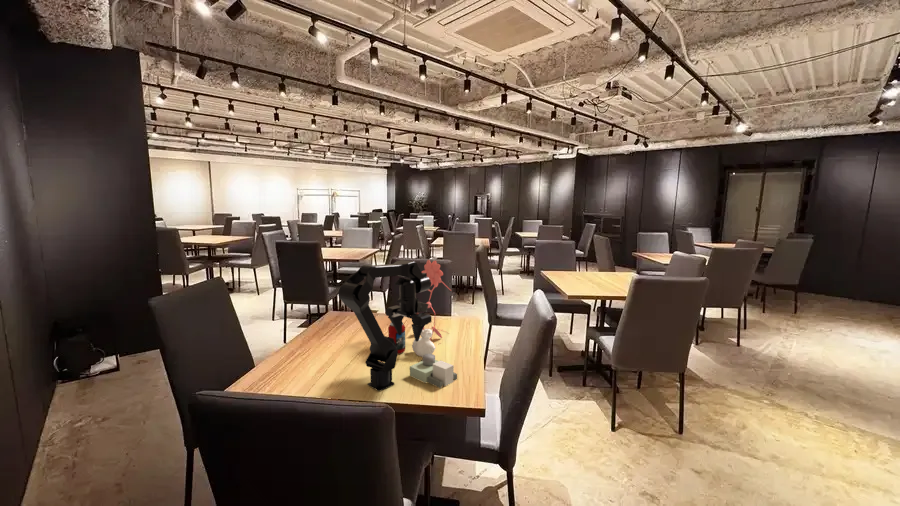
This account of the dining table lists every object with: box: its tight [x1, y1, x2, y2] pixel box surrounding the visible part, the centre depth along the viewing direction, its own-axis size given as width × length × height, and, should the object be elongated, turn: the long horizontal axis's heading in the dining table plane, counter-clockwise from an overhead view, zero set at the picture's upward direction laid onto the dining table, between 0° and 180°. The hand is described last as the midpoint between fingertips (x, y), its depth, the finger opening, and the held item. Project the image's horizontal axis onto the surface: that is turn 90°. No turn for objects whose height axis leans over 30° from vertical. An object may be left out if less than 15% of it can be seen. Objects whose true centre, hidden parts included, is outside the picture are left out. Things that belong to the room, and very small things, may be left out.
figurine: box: [421, 259, 452, 345], centre depth 171 cm, size 15×26×35 cm, turn 48°
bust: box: [411, 328, 436, 358], centre depth 151 cm, size 12×8×11 cm
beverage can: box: [387, 321, 406, 355], centre depth 153 cm, size 7×7×12 cm
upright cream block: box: [433, 359, 455, 387], centre depth 128 cm, size 4×6×6 cm, turn 48°
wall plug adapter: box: [409, 353, 458, 389], centre depth 131 cm, size 10×14×6 cm
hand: (408, 338), depth 136 cm, fingers open, 9 cm apart
